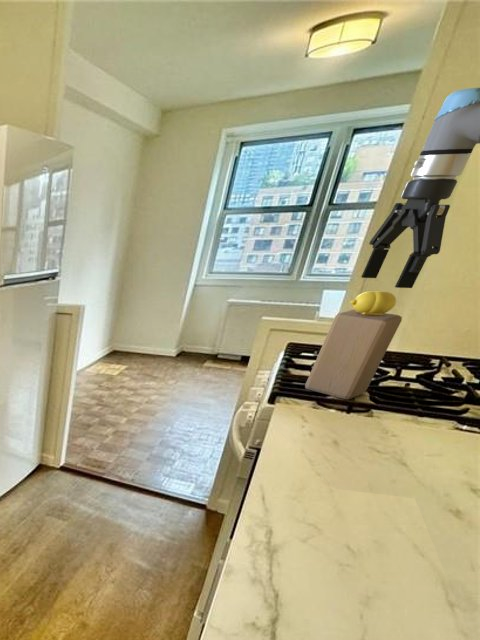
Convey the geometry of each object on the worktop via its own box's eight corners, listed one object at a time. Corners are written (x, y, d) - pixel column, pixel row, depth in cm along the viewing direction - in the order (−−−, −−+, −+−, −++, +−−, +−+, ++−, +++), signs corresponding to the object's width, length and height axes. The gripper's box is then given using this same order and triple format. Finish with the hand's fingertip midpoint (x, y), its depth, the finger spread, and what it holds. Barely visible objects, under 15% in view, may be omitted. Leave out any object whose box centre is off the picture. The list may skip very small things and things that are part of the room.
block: (365, 393, 124) (405, 315, 115) (348, 401, 120) (388, 320, 110) (319, 382, 132) (353, 307, 122) (301, 389, 127) (335, 312, 118)
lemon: (381, 312, 118) (392, 290, 115) (395, 316, 113) (406, 294, 111) (340, 310, 120) (349, 289, 117) (351, 315, 115) (361, 292, 113)
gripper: (377, 179, 114) (338, 273, 124) (453, 178, 93) (398, 291, 103) (417, 178, 112) (373, 274, 122) (503, 177, 91) (442, 293, 101)
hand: (384, 282), depth 113 cm, fingers open, 13 cm apart
